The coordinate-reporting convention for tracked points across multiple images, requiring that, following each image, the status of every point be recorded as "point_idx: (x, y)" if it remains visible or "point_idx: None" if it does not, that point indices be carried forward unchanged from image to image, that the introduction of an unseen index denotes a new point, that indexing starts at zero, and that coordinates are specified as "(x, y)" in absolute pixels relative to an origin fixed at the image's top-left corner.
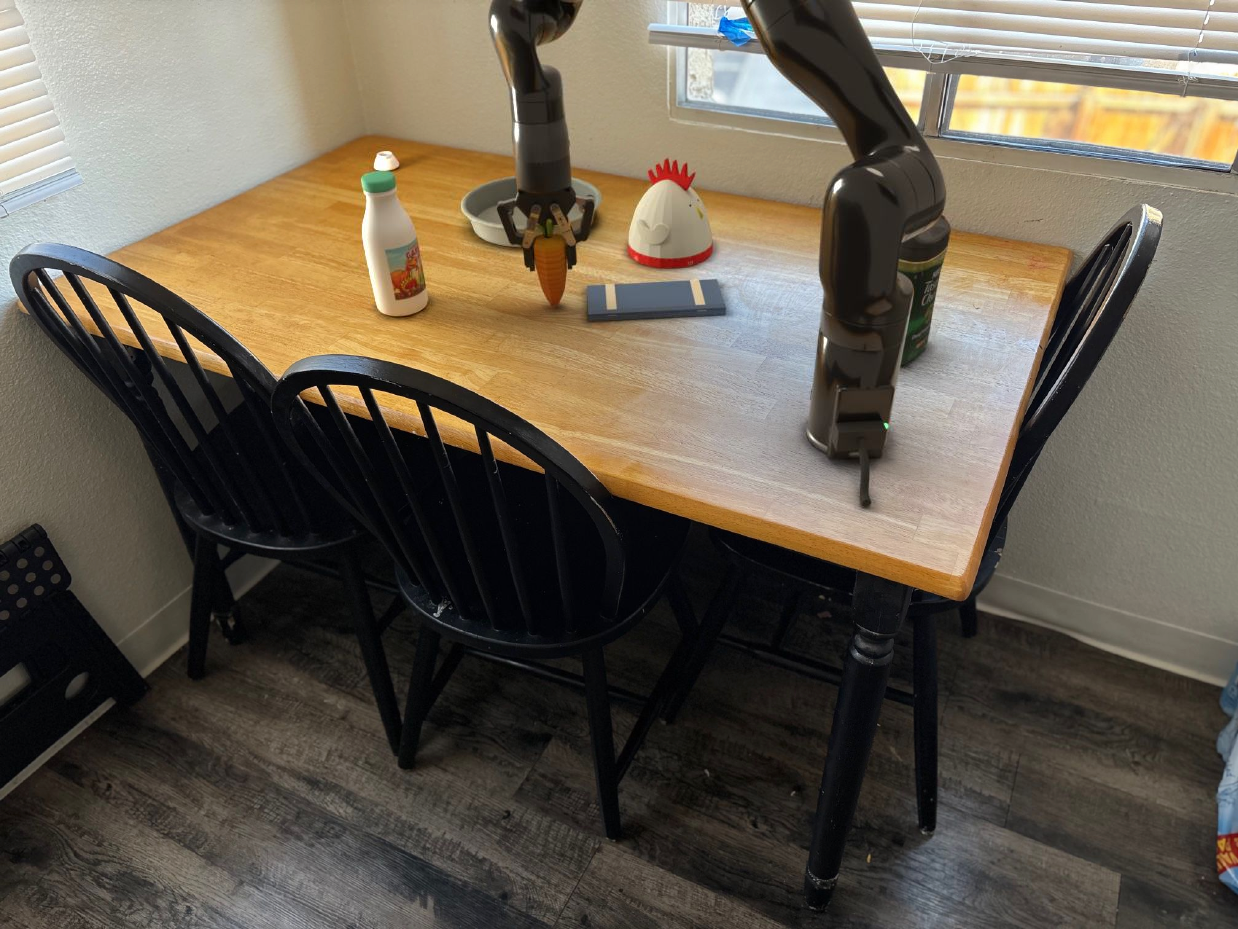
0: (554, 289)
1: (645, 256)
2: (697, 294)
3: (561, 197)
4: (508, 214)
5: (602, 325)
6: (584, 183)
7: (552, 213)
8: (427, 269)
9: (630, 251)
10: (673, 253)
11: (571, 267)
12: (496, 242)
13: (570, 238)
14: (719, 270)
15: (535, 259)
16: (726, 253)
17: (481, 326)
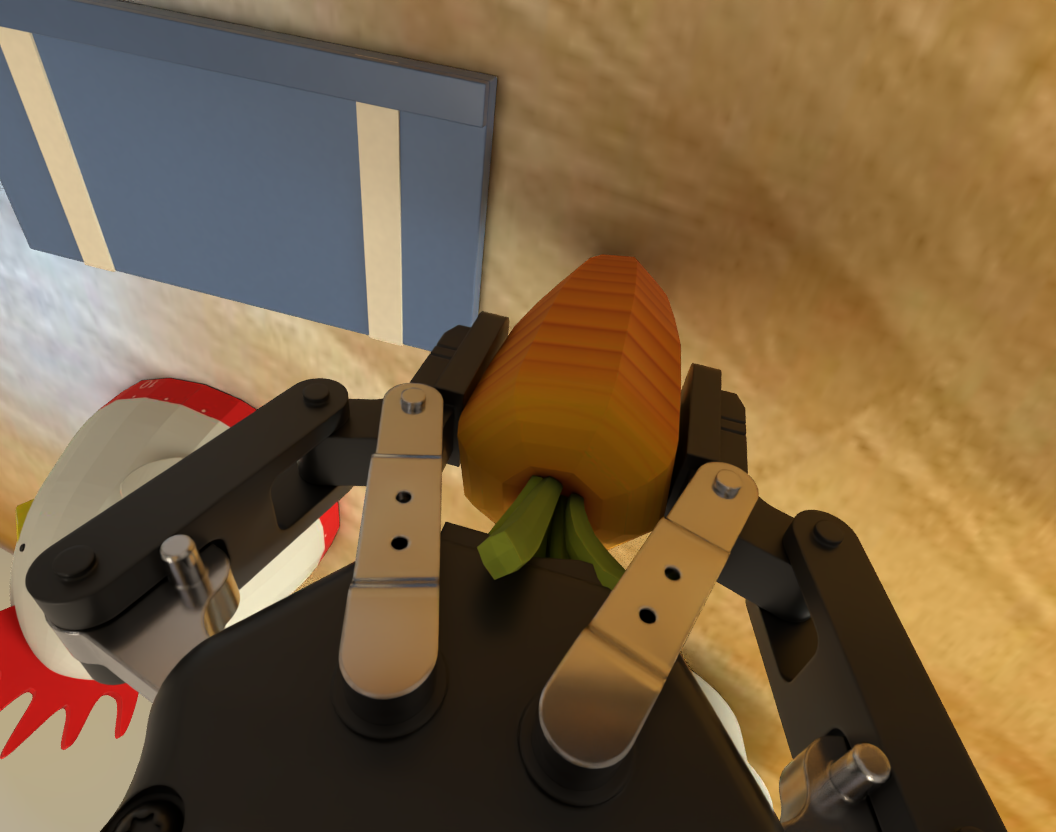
0: (610, 264)
1: None
2: (56, 146)
3: (277, 743)
4: (885, 763)
5: (437, 14)
6: None
7: (451, 619)
8: (984, 663)
9: None
10: (167, 415)
11: (484, 313)
12: (703, 683)
13: (408, 417)
14: (64, 322)
15: (680, 395)
16: (74, 406)
17: (1041, 196)
